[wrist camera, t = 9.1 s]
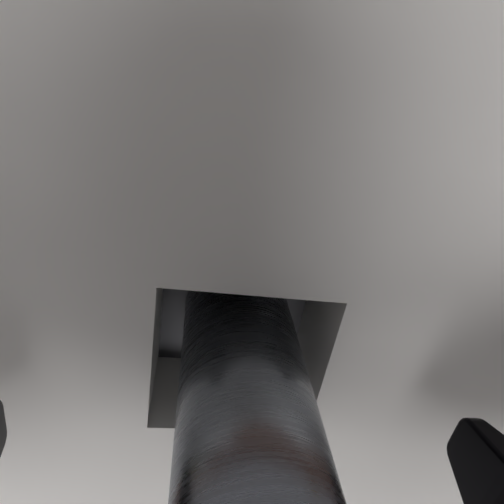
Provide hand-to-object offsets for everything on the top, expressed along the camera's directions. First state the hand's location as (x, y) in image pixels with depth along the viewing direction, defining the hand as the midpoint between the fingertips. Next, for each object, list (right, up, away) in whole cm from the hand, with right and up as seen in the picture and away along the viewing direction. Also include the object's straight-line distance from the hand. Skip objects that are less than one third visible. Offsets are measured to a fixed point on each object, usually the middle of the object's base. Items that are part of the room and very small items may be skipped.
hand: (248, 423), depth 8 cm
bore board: (0, +2, +4) cm, 4 cm away
